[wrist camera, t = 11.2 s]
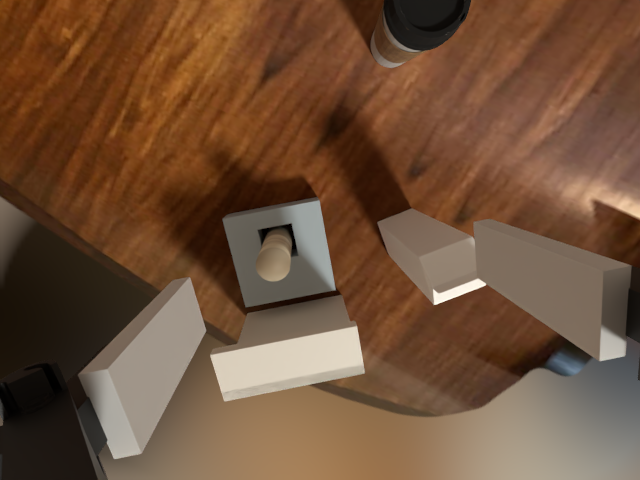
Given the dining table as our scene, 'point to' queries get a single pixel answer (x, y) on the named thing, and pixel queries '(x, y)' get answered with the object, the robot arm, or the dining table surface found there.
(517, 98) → the dining table surface
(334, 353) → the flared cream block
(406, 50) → the coffee cup
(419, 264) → the milk
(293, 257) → the socket block
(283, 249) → the birch peg
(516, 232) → the robot arm
